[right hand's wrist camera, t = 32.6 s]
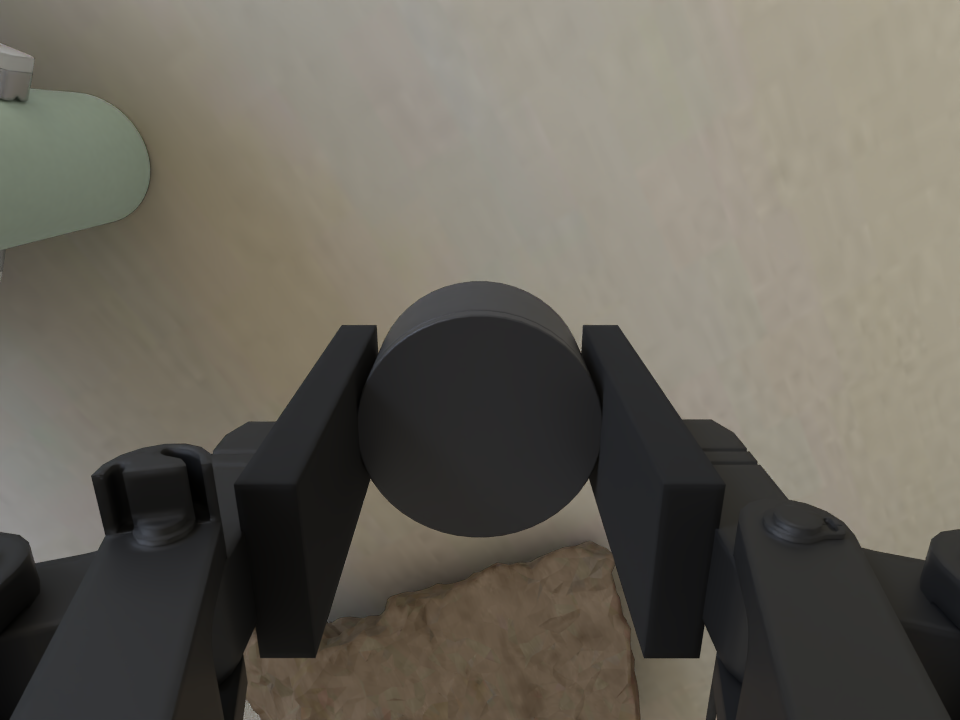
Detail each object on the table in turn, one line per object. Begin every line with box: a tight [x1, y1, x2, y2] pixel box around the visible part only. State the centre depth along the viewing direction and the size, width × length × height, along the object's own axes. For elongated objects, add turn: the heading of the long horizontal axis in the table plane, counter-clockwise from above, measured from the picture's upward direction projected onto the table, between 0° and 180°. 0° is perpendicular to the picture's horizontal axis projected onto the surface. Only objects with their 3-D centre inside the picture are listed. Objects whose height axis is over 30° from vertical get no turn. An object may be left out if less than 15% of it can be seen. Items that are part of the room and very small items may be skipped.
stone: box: [243, 541, 640, 720], centre depth 35 cm, size 21×15×6 cm
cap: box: [357, 281, 602, 537], centre depth 13 cm, size 4×5×3 cm
